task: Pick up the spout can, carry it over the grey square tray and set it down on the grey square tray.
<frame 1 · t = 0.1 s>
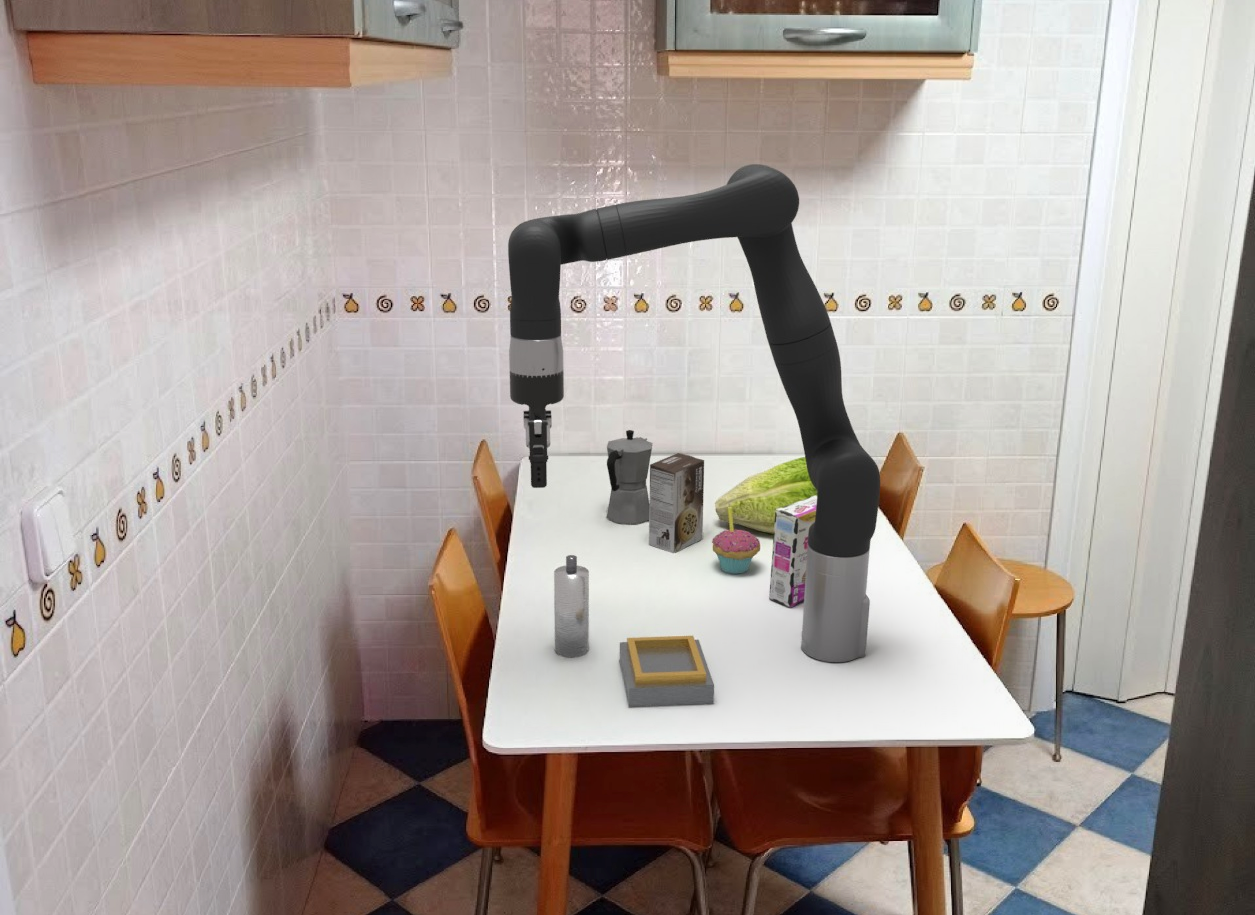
hand: (538, 477, 173), 29 cm above the table, fingers open, 8 cm apart
cupcake: (735, 569, 216), on the table
grey square tray: (664, 681, 176), on the table
coffeepot: (626, 519, 238), on the table
coffee box: (675, 543, 227), on the table
spout can: (571, 649, 185), on the table
candy bar box: (800, 596, 205), on the table
lettuce: (777, 529, 235), on the table
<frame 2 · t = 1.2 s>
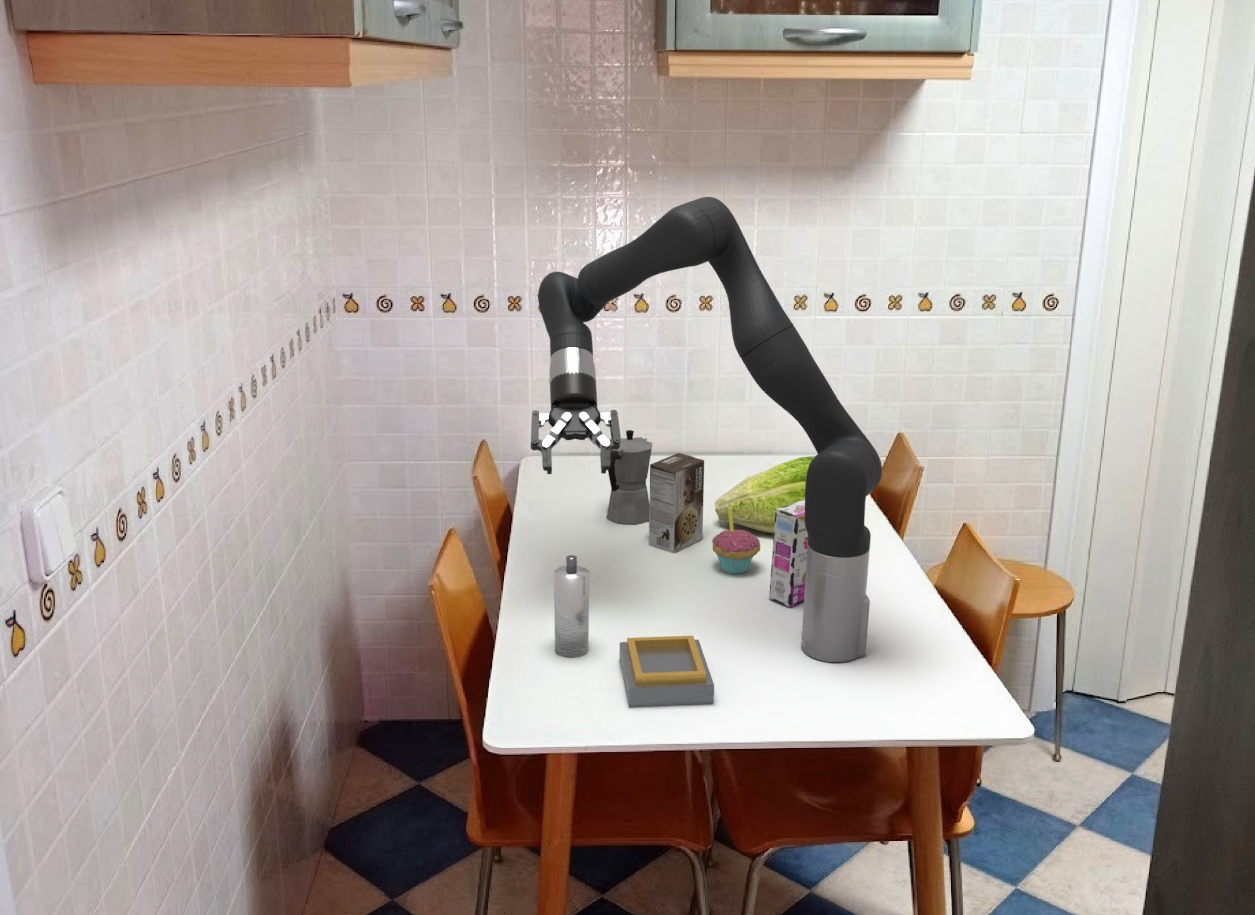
hand: (576, 471, 188), 25 cm above the table, fingers open, 8 cm apart
nothing on the table moved.
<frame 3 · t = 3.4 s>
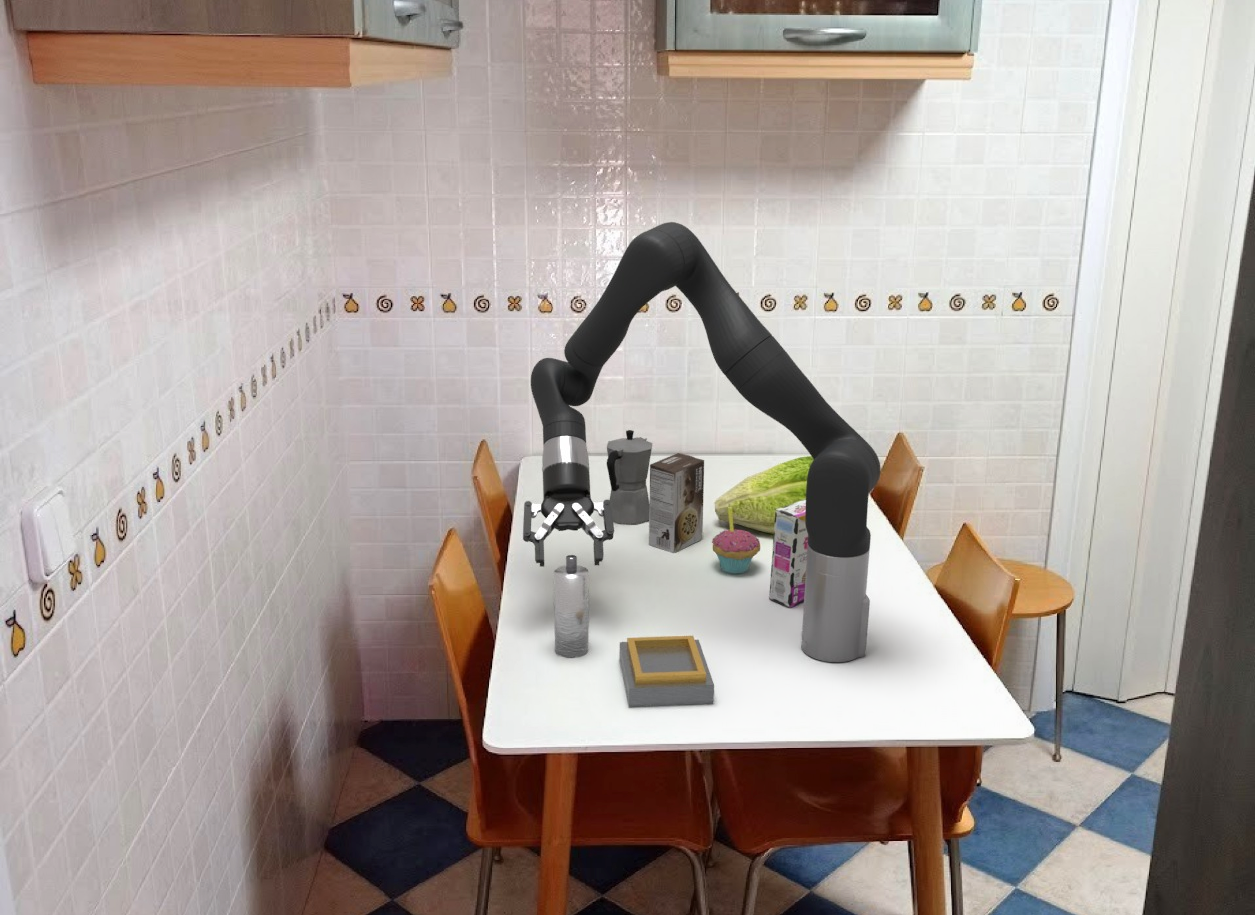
hand: (569, 564, 187), 12 cm above the table, fingers open, 8 cm apart
nothing on the table moved.
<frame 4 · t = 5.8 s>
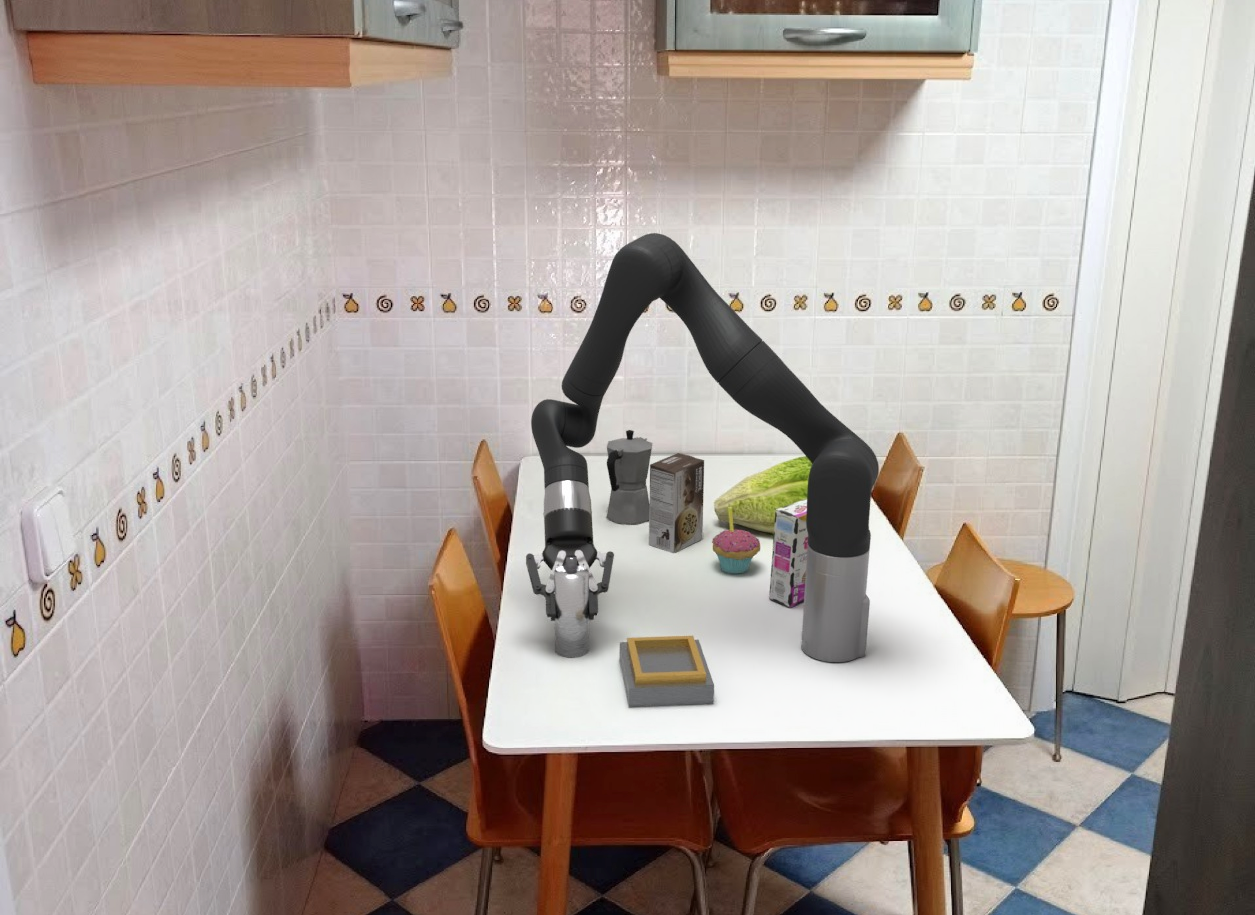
hand: (572, 618, 181), 6 cm above the table, fingers closed on spout can, 5 cm apart
spout can: (571, 649, 185), on the table, touching gripper
everything else where it was.
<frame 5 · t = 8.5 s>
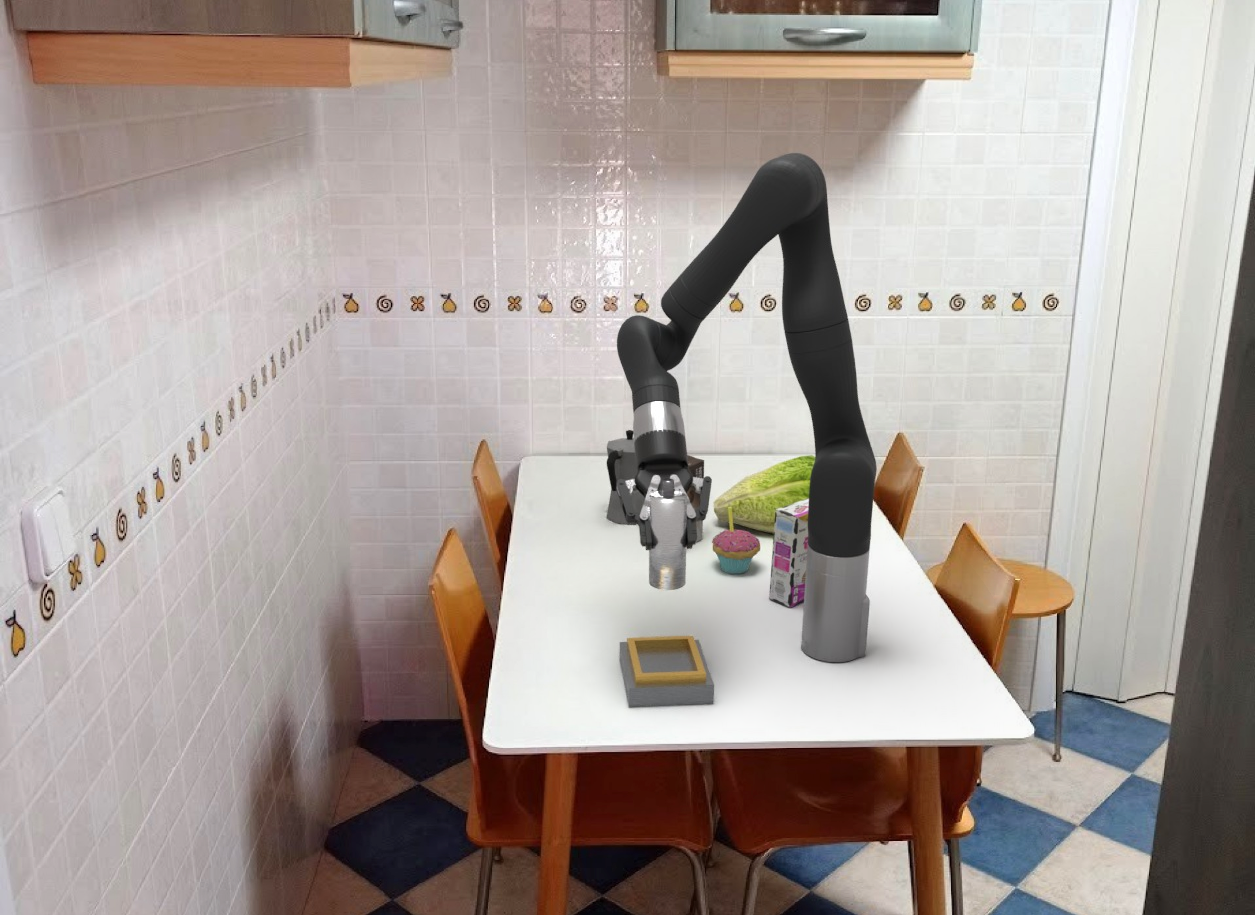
hand: (669, 547, 168), 22 cm above the table, fingers closed on spout can, 5 cm apart
spout can: (667, 582, 171), point 16 cm above the table, touching gripper
everything else where it was.
when the fingers open (11 cm above the table, at t = 11.2 s): spout can drops 1 cm, resting on grey square tray.
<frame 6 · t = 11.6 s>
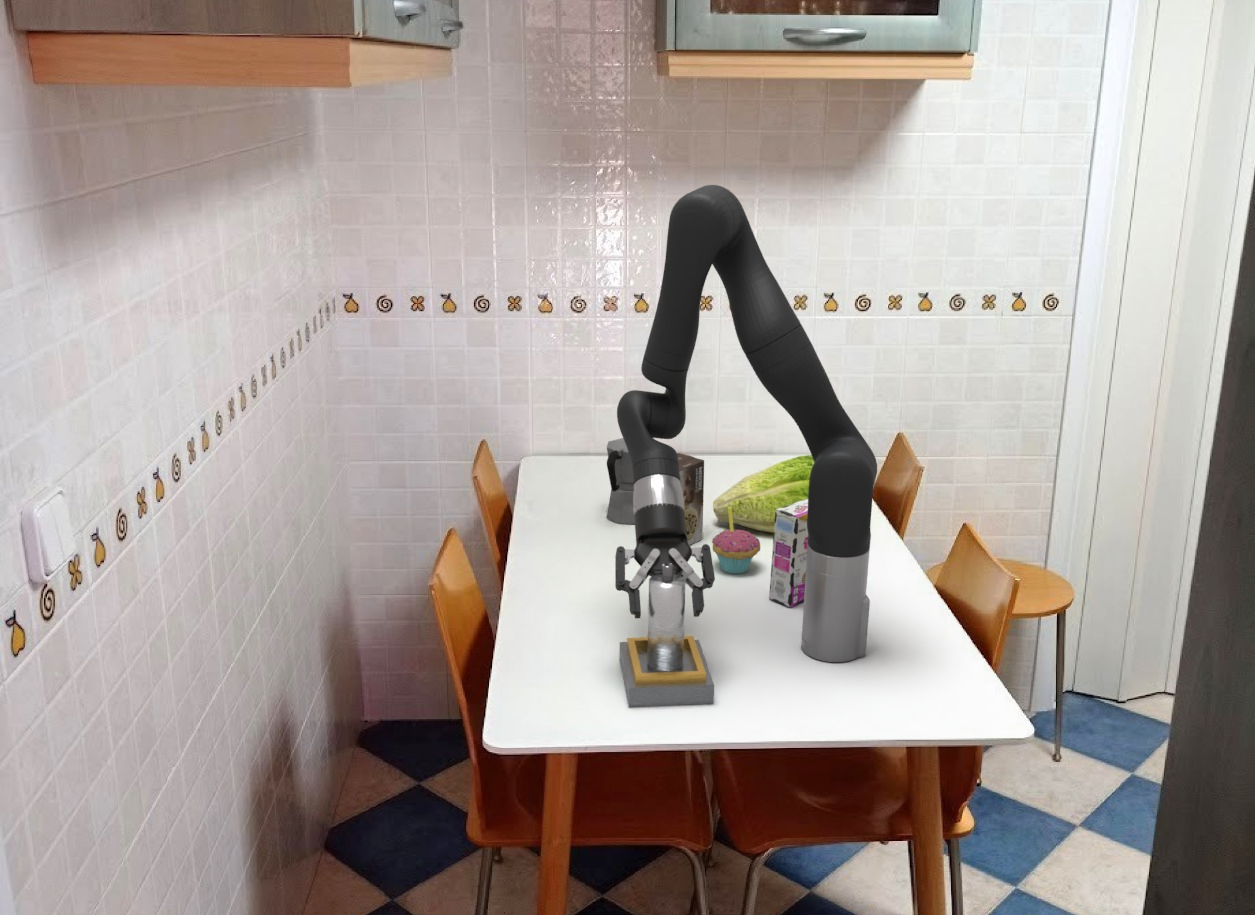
hand: (667, 615, 171), 11 cm above the table, fingers open, 8 cm apart
spout can: (665, 662, 175), point 3 cm above the table, touching grey square tray
everything else where it was.
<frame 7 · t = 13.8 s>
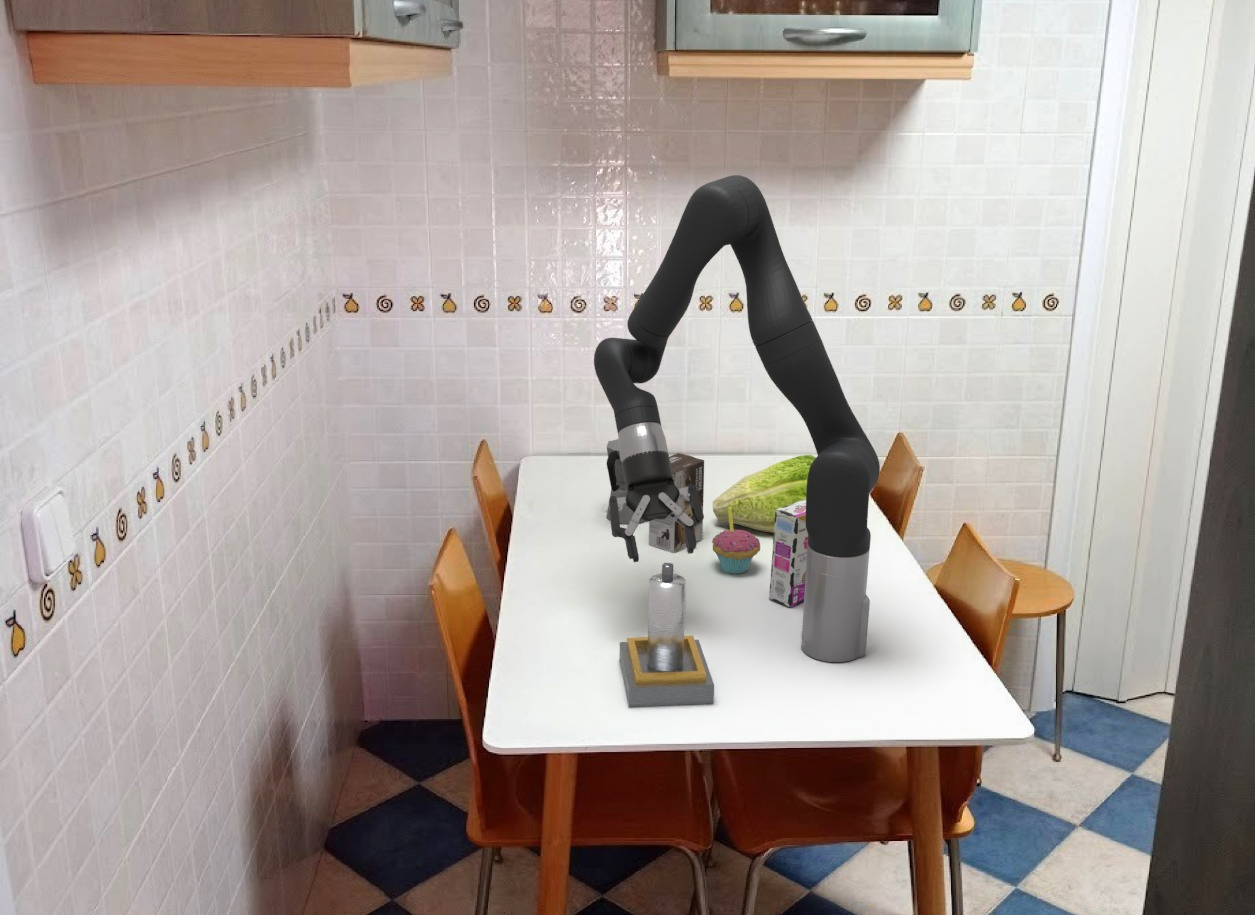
hand: (663, 556, 184), 14 cm above the table, fingers open, 8 cm apart
nothing on the table moved.
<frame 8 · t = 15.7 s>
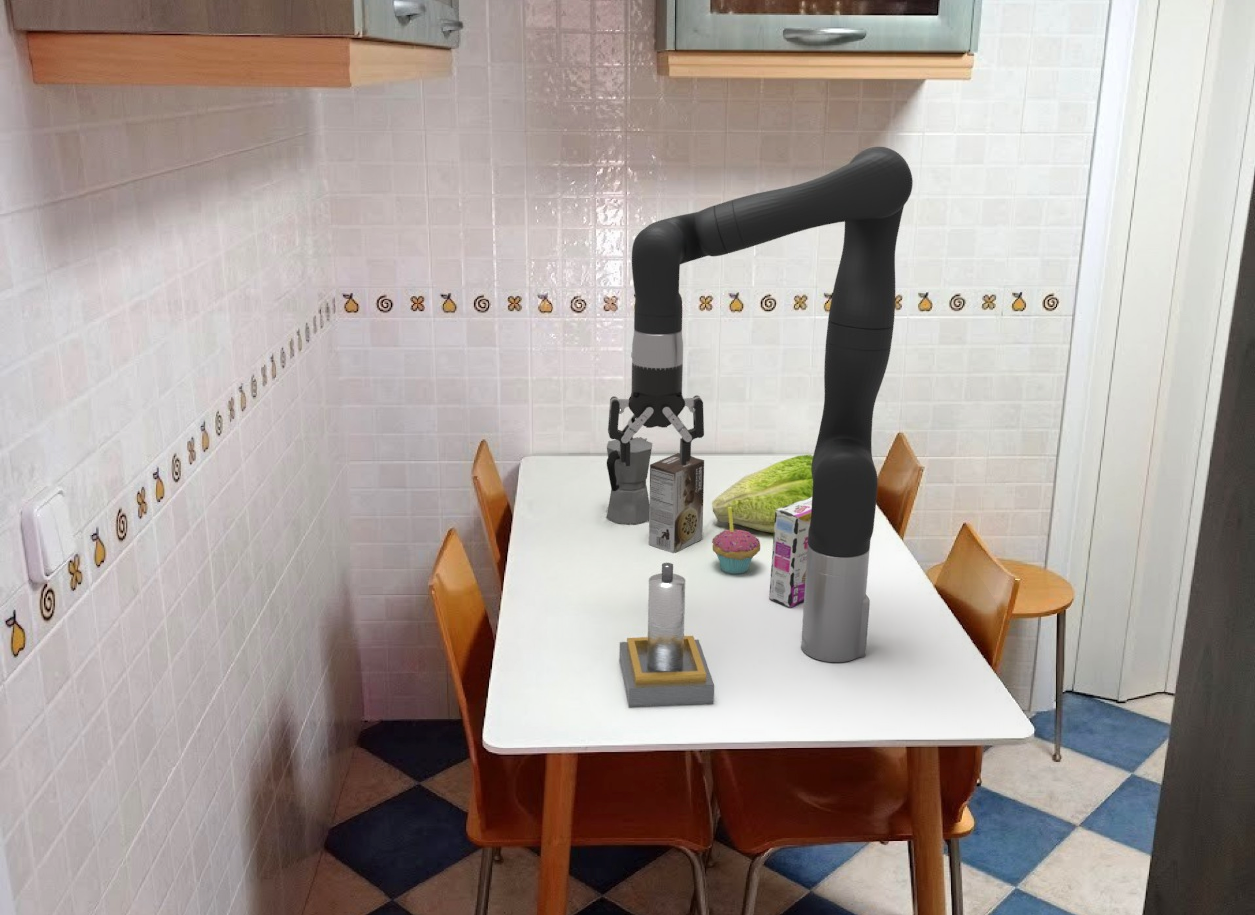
hand: (655, 464, 182), 28 cm above the table, fingers open, 8 cm apart
nothing on the table moved.
at the end: spout can inside the target area on the grey square tray (0.1 cm from its centre), point 3.0 cm above the grey square tray's base; spout can tilted 0°; the gripper is holding nothing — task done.
